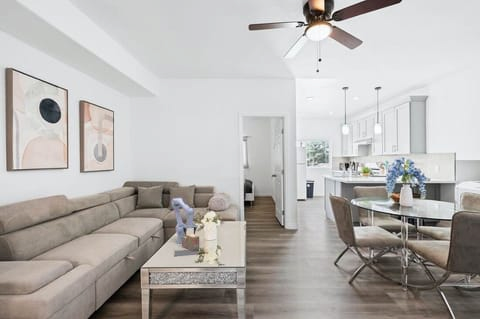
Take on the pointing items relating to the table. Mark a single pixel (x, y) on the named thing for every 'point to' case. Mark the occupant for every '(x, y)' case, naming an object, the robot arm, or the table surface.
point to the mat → (185, 252)
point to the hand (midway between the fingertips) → (190, 235)
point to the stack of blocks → (191, 242)
